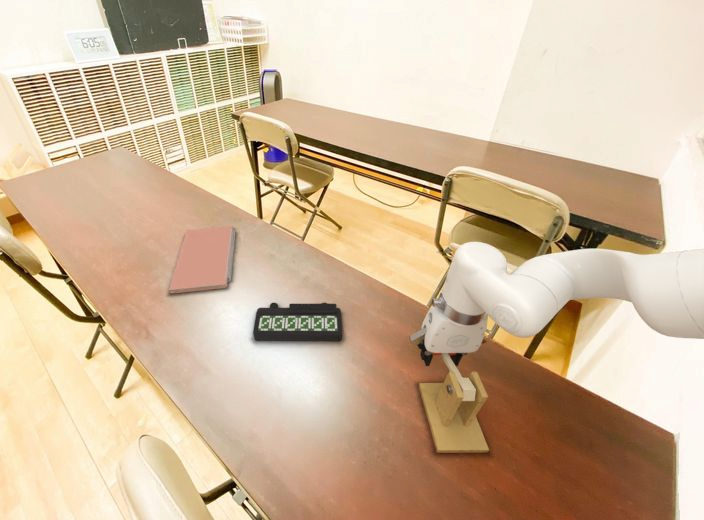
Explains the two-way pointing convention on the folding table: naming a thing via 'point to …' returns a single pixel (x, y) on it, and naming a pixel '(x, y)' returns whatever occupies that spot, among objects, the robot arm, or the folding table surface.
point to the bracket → (454, 415)
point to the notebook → (204, 260)
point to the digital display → (298, 323)
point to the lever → (459, 378)
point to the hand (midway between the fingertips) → (439, 359)
